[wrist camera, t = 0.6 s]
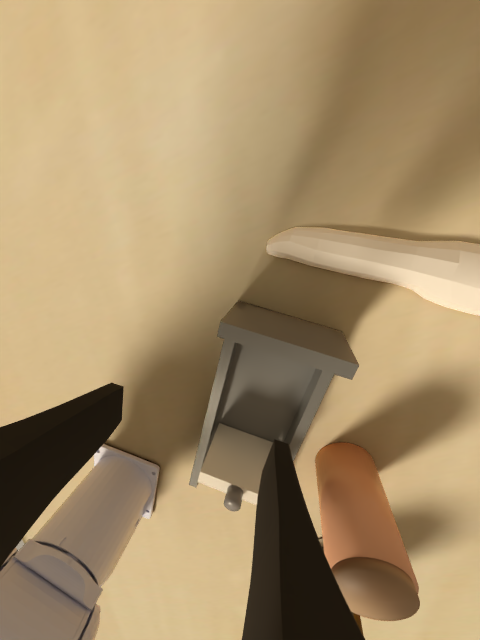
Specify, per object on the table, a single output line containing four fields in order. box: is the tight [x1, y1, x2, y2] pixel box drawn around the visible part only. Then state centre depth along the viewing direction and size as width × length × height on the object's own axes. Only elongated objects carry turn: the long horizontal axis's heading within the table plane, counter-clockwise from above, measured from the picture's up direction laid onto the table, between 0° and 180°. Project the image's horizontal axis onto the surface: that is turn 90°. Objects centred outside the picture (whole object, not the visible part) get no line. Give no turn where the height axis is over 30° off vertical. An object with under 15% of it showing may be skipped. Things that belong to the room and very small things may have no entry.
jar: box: [315, 442, 420, 621], centre depth 18 cm, size 5×5×9 cm
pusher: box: [198, 423, 273, 511], centre depth 19 cm, size 1×6×6 cm, turn 76°
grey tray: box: [189, 300, 359, 487], centre depth 19 cm, size 19×8×5 cm, turn 166°
